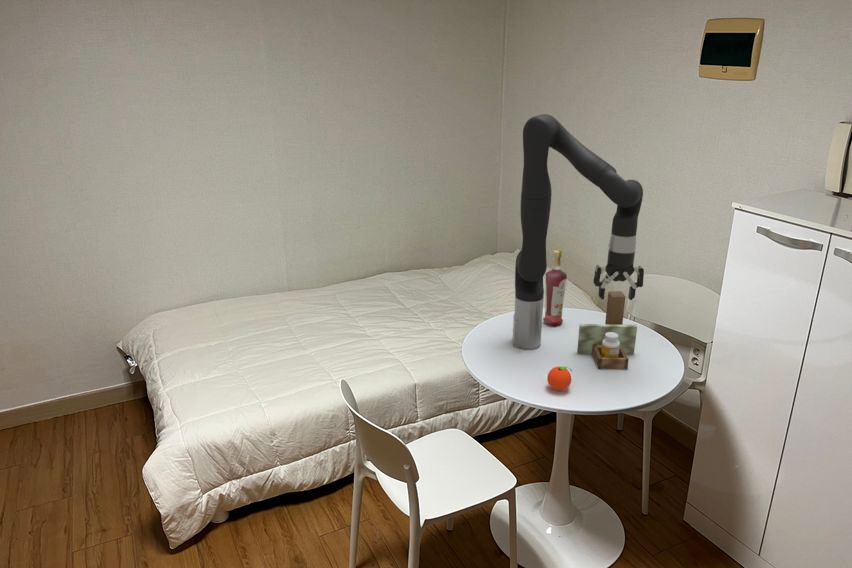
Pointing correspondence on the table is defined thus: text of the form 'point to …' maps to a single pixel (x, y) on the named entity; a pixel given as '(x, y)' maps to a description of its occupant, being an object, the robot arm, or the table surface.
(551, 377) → the clementine
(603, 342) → the supplement bottle
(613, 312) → the wooden block
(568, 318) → the table surface
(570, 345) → the table surface
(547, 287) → the liquor
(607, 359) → the board
